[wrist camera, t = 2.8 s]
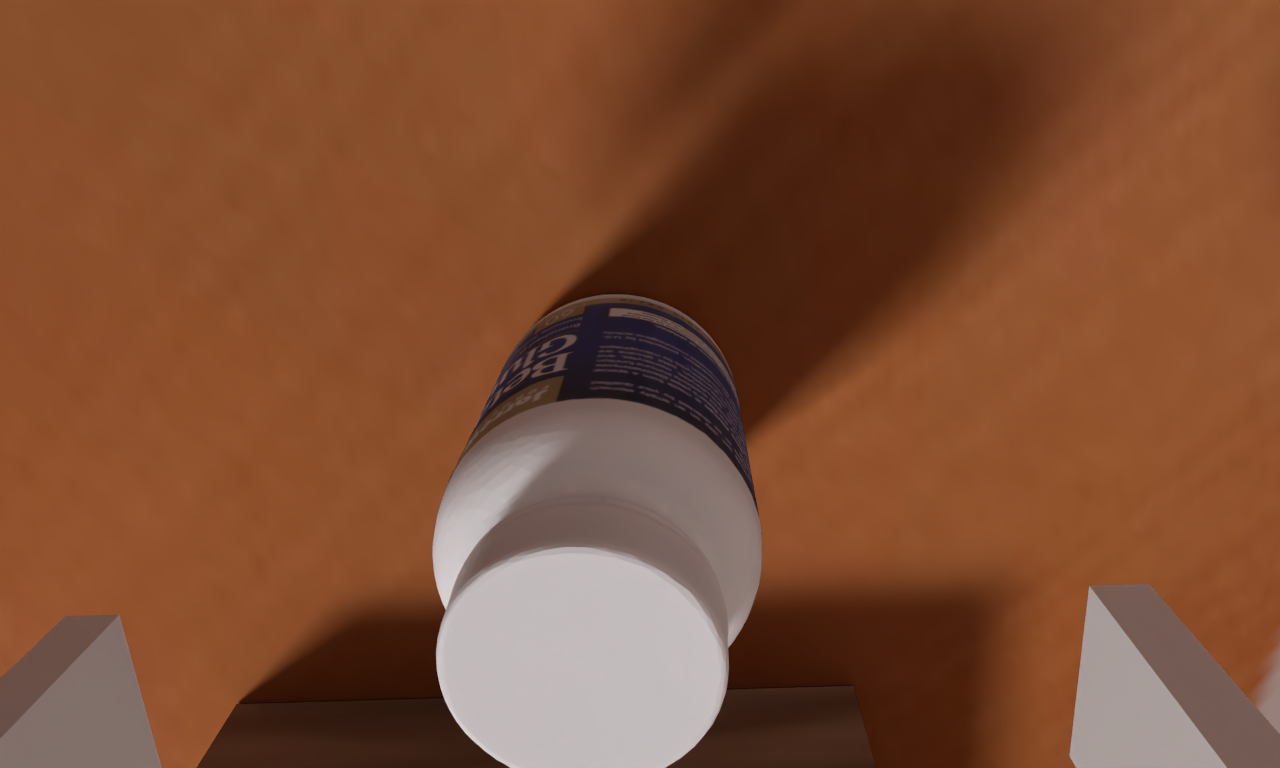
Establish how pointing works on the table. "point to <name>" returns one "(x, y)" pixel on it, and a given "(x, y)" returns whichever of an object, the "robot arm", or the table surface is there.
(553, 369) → the pill bottle
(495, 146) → the table surface
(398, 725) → the box
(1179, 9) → the table surface
